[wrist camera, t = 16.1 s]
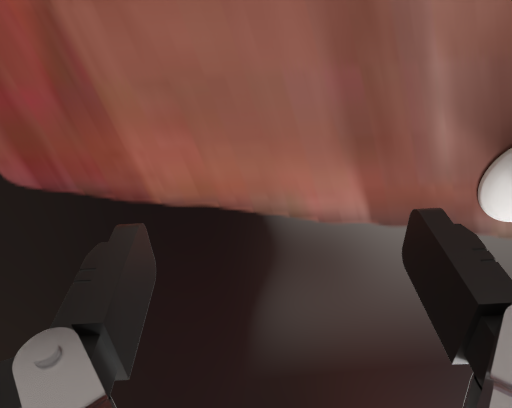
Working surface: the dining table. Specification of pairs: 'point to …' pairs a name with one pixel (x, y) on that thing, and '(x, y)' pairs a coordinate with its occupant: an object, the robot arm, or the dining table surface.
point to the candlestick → (497, 188)
